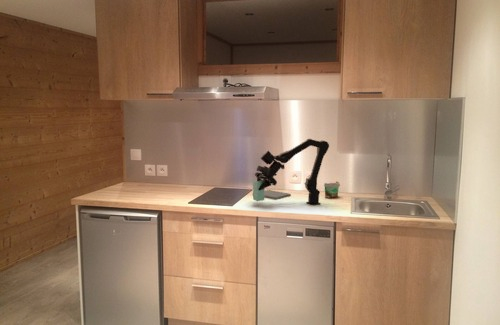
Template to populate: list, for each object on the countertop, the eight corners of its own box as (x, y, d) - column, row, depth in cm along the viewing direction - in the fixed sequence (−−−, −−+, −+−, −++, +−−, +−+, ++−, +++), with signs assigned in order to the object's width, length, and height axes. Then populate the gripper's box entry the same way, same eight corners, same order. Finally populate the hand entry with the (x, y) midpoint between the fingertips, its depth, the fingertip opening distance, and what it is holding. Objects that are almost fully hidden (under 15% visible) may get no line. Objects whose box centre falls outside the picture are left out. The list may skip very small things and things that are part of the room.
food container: (330, 199, 245) (331, 184, 244) (323, 198, 250) (324, 183, 249) (343, 197, 252) (343, 182, 251) (336, 195, 257) (336, 181, 256)
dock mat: (290, 195, 256) (290, 193, 255) (275, 199, 244) (275, 197, 244) (267, 191, 269) (267, 189, 269) (252, 195, 257) (252, 192, 257)
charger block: (264, 200, 227) (264, 182, 225) (256, 201, 225) (257, 182, 223) (260, 198, 231) (260, 180, 230) (253, 199, 229) (253, 181, 228)
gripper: (257, 159, 235) (241, 178, 231) (272, 162, 218) (255, 183, 215) (268, 171, 239) (252, 189, 236) (284, 175, 223) (267, 195, 219)
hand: (256, 189), depth 226 cm, fingers closed on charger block, 5 cm apart
